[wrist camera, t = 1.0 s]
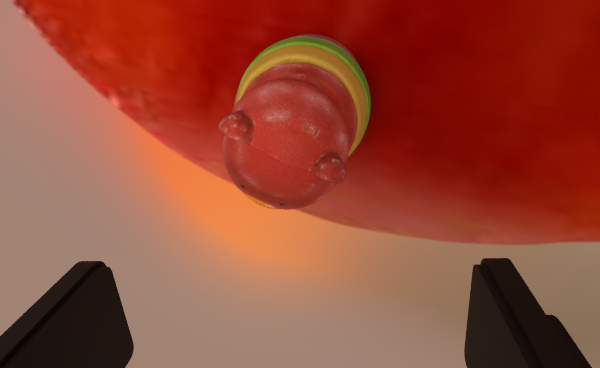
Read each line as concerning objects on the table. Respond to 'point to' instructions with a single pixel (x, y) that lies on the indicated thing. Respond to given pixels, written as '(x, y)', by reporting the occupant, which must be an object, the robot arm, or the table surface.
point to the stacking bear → (295, 121)
